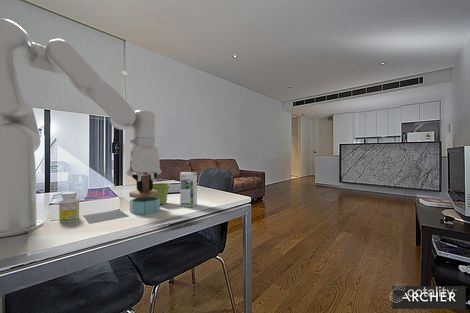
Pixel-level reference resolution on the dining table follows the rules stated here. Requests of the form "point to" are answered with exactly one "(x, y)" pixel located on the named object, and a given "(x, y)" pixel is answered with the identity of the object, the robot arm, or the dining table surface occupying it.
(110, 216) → the mat
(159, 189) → the plant pot
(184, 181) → the syrup box
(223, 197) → the dining table surface
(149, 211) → the bowl
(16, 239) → the dining table surface
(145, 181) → the lid
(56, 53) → the robot arm
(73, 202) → the supplement bottle
